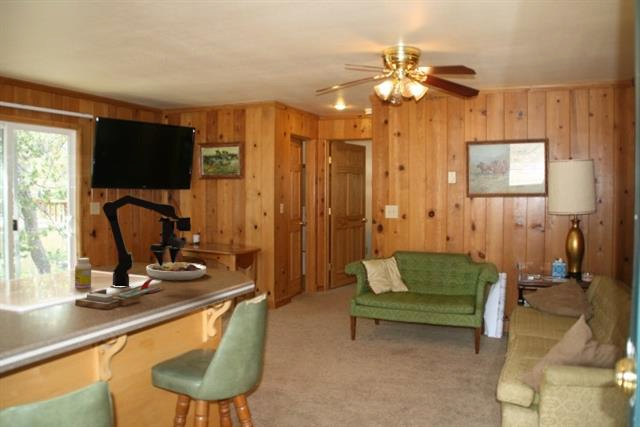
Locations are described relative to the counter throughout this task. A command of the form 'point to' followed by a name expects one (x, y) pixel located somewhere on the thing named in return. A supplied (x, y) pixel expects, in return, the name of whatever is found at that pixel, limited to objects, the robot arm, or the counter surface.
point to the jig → (110, 304)
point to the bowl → (176, 271)
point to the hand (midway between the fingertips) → (167, 264)
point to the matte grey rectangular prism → (100, 297)
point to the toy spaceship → (140, 290)
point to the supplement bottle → (83, 273)
